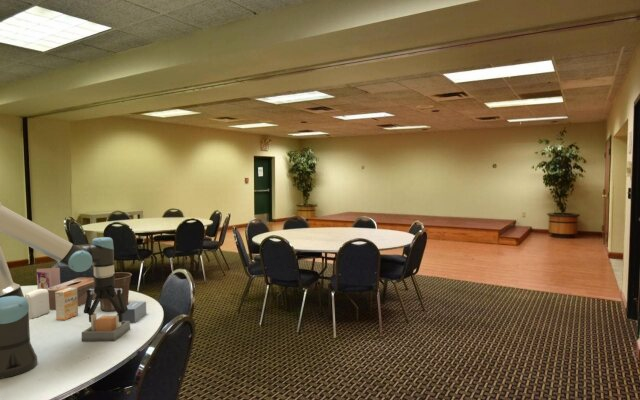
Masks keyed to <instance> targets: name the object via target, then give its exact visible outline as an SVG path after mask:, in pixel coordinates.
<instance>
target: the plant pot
mask: <svg viewBox="0 0 640 400" xmlns="http://www.w3.org/2000/svg"><path fill="white" fill-rule="evenodd" d="M113 275H114V276H115V288H116V289H120V288H123V295H124V299H125V302H126V305H129V294H130V285H131V277H132V276H133V274H132V273H131V272H126V271H125V272H121V271H120V272H119V271H117V272H114V274H113ZM114 294H115V296H116V299H117V301H118V302H119V300H118V297H117V294H116V292H115V293H114ZM119 304H120V303H119ZM99 306H100V310H101V311H105V312H116V310H115V308H114V306H113V305H112V303H111V301H109V300H108V299H101V300H100V302H99Z"/></svg>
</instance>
